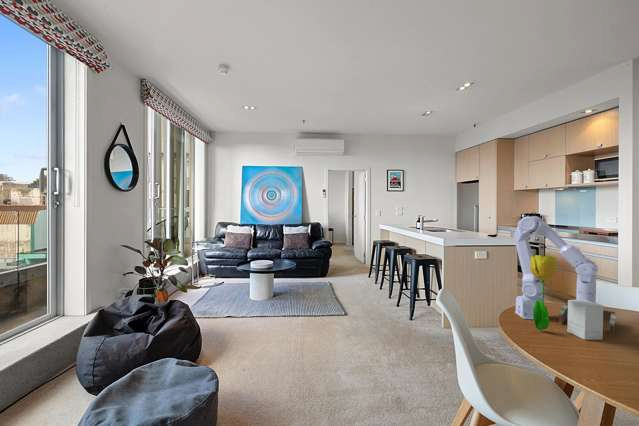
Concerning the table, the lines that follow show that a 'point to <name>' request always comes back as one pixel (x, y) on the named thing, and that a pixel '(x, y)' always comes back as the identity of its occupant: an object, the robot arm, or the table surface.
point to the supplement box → (585, 319)
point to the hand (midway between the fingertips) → (584, 326)
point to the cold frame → (607, 317)
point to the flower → (543, 271)
